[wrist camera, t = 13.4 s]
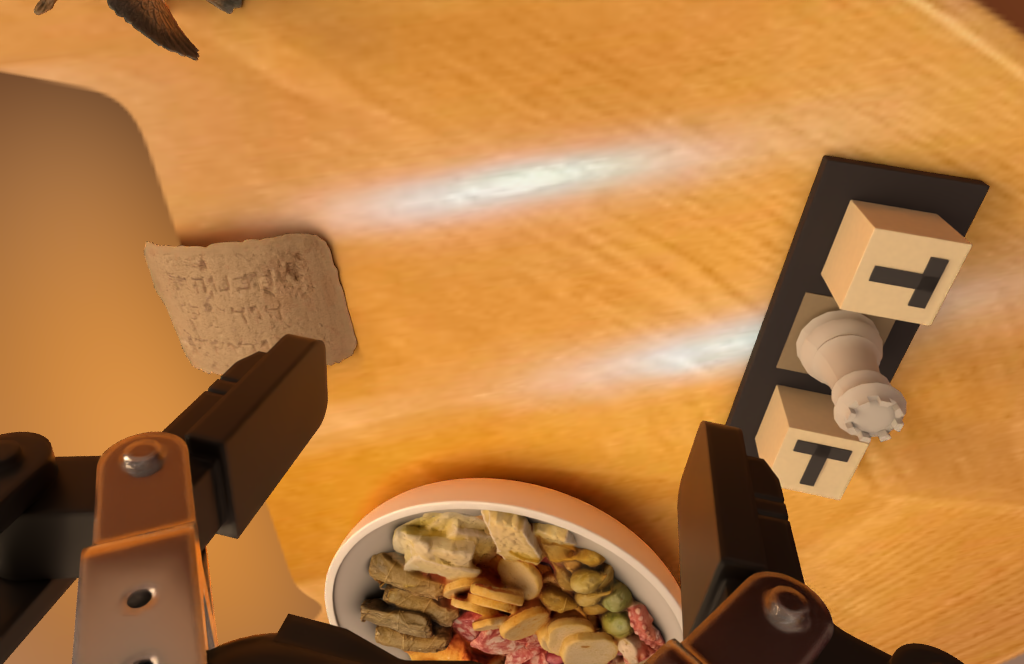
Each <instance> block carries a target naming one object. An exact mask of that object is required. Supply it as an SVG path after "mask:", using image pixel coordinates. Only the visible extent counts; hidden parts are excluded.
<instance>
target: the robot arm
mask: <svg viewBox="0 0 1024 664" xmlns="http://www.w3.org/2000/svg"><path fill="white" fill-rule="evenodd" d="M327 402H328V392H327V366H326V348H325V344H324V342H323V341H322V340H317V339H312V338H307V337H303V336H298V335H293V334H286V335H284V336H283V337H282V338H281V339H280V340H279V341H278V342H277V343H276V344H275V345H274V346H273V347H272V348H271V349H270V350H269V351H268V352H267V353H266V352H261V351H258V352H256V353H254V354H252V355H249V356H247V357H245V358H243V359H241V360H239V361H237V362H236V363H234V364H233V365H232V366H231V367H230V368H229V369H228V370H227V371H226V372H225V373H224V374H223V375H222V376H221V379H220V380H219V379H217V380H216V381H215V382H214V383H213V384H212V385H211V386H210V387H209V389H208V391H205V392H204V393H203V394H202V395H201V396H199V397H198V398H197V399H196V400H195V401H194V402H193V403H192V404H191V405H190V406H189V407H188V408H187V409H186V410H185V411H184V412H183V413H181V414H180V415H179V416H178V417H177V418H176V419H175V420H174V421H173V422H172V423H171V424H170V425H169V426H168V427H167V428H166V429H164V431H162V432H147V433H141V434H137V435H133V436H130V437H127V438H125V439H123V440H121V441H119V442H117V443H115V444H114V445H112V446H111V447H110V448H108V449H107V450H106V451H105V452H104V453H103V455H102V456H76V457H55V456H54V452H53V450H52V447H51V443H50V442H49V440H48V439H47V438H45V437H44V436H42V435H40V434H36V433H30V432H14V433H7V434H1V435H0V664H3V663H4V662H5V660H7V658H8V657H9V656H10V655H11V654H12V653H13V651H14V650H15V649H16V648H17V647H18V645H19V644H20V643H21V642H22V641H23V640H24V639H25V637H26V636H27V635H28V634H29V633H30V632H31V630H32V629H33V628H34V627H35V626H36V625H37V624H38V623H39V621H40V620H41V619H42V618H43V616H44V615H45V614H46V613H47V612H48V611H49V610H50V609H51V607H52V606H53V605H54V604H55V603H56V602H57V600H58V599H59V598H60V597H61V596H62V595H63V594H64V592H65V591H66V590H67V589H68V588H69V587H70V585H71V584H72V583H73V582H74V581H75V580H76V578H79V581H78V595H77V607H76V620H75V633H74V645H73V658H72V664H483V663H479V662H475V661H448V660H403V659H400V658H397V657H396V656H394V655H392V654H390V653H389V652H387V651H385V650H383V649H381V648H380V647H378V646H376V645H374V644H373V643H371V642H369V641H367V640H366V639H364V638H362V637H360V636H359V635H357V634H355V633H353V632H352V631H350V630H348V629H346V628H342V627H338V626H334V625H330V624H327V623H323V622H319V621H315V620H311V619H307V618H303V617H299V616H295V615H291V614H288V615H287V617H286V619H285V621H284V623H283V624H282V626H281V628H280V630H279V631H278V633H268V634H260V635H253V636H248V637H244V638H239V639H236V640H233V641H230V642H227V643H224V644H222V645H219V646H218V639H217V632H216V624H215V615H214V606H213V598H212V589H211V580H210V571H209V563H208V554H207V549H206V545H207V544H208V543H209V541H210V540H211V539H212V538H213V536H214V535H215V534H220V535H224V536H228V537H232V538H236V539H238V538H239V536H240V535H241V534H242V532H243V531H244V529H245V528H246V527H247V525H248V524H249V523H250V521H251V520H252V518H253V517H254V516H255V514H256V513H257V512H258V510H259V509H260V508H261V506H262V505H263V503H264V502H265V501H266V499H267V498H268V497H269V495H270V494H271V493H272V491H273V490H274V488H275V487H276V486H277V484H278V483H279V482H280V480H281V479H282V477H283V476H284V475H285V473H286V472H287V471H288V469H289V468H290V467H291V465H292V464H293V462H294V461H295V460H296V458H297V457H298V456H299V454H300V453H301V451H302V450H303V449H304V447H305V446H306V445H307V443H308V442H309V440H310V439H311V438H312V436H313V435H314V434H315V432H316V431H317V429H318V428H319V427H320V425H321V423H322V421H323V419H324V416H325V413H326V408H327ZM677 509H678V533H679V556H680V579H681V603H682V626H683V641H682V642H681V643H680V642H679V641H677V640H676V639H675V638H673V639H671V640H669V641H667V642H666V643H665V644H664V645H663V646H661V647H660V648H659V649H658V650H657V651H656V652H655V653H654V654H653V655H652V656H651V657H650V658H649V659H648V660H647V661H646V662H645V663H643V664H964V663H962V662H961V661H960V660H958V659H957V658H955V657H953V656H952V655H950V654H948V653H946V652H944V651H942V650H940V649H938V648H935V647H932V646H929V645H924V644H916V643H913V644H906V645H903V646H901V647H900V648H898V649H897V650H896V651H895V653H894V654H893V656H891V655H889V654H887V653H885V652H883V651H881V650H879V649H877V648H875V647H873V646H871V645H869V644H867V643H865V642H863V641H861V640H859V639H857V638H855V637H853V636H852V635H850V634H848V633H846V632H844V631H843V630H842V629H840V628H839V627H837V626H836V625H835V624H833V621H832V617H831V615H830V612H829V610H828V609H827V607H826V605H825V604H824V602H823V601H822V600H821V599H820V597H819V596H818V595H817V594H816V593H815V592H814V591H812V590H811V589H810V588H809V587H808V586H806V585H805V583H804V579H803V575H802V571H801V567H800V563H799V559H798V554H797V550H796V546H795V542H794V538H793V534H792V530H791V526H790V522H789V521H788V513H787V509H786V505H785V504H784V497H783V493H782V489H781V485H780V481H779V478H778V477H777V476H776V474H775V473H774V472H773V470H772V469H771V468H770V466H769V465H768V464H767V462H766V461H765V460H764V459H762V458H757V457H752V456H748V455H747V454H746V448H745V443H744V438H743V433H742V430H741V429H740V428H736V427H732V426H727V425H722V424H717V423H712V422H708V421H702V422H701V424H700V426H699V428H698V431H697V434H696V437H695V440H694V443H693V446H692V449H691V452H690V455H689V458H688V461H687V464H686V467H685V470H684V472H683V475H682V479H681V483H680V488H679V494H678V505H677Z"/></svg>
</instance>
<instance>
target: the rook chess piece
mask: <svg viewBox="0 0 1024 664" xmlns="http://www.w3.org/2000/svg"><path fill="white" fill-rule="evenodd" d="M796 347H797V356H798V358H799V359H800V361H801V363H802V365H803V366H804V368H805V369H806V371H807V373H808V374H809V375H811V376H812V377H814V378H815V379H817V380H818V381H820V382H821V383H825V384H826V385H828V386H829V387H830V388H831V390H832V392H831V393H832V401H833V403H834V405H835V407H834V419H835V421H836V423H837V424H838V426H839V427H840V428H841V429H843V430H844V431H846V432H847V433H849V434H851V436H852V435H856V436H858V438H859V441H863V442H867V443H870V441H871V437H877V436H878V437H879V439H880V441H881V442H883V441H886V440H888V439H891V436H890V434H889V432H890V431H891V430H892V429H894V430H896V431H898V432H900V430H901V429H902V427H903V425H904V423H903V421H902V419H903V417H904V415H905V414H906V400H905V399H904V397H903V395H902V393H901V392H900V391H898V390H897V389H895V388H894V387H892V386H891V384H890V383H889V381H888V379H887V378H886V377H885V376H883V375H882V374H880V371H879V365H880V361H881V359H882V357H883V341H882V339H881V337H880V335H879V332H878V330H877V328H876V326H875V325H874V323H873V321H872V320H870V319H869V318H867V317H866V316H864V315H863V314H861V313H857V312H852V311H847V310H840V311H832V312H827V313H825V314H822V315H820V316H818V317H816V318H814V319H812V320H811V321H810V322H809V323H808V324H807V325H806V326H805V327H804V328H803V329H802V330H801V332H800V335H799V337H798V339H797V342H796Z"/></svg>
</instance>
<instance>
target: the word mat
mask: <svg viewBox="0 0 1024 664" xmlns="http://www.w3.org/2000/svg"><path fill="white" fill-rule="evenodd" d="M989 187H990V186H989V185H987V184H986V183H984V182H982V181H980V180H973V179H967V178H961V177H955V176H949V175H943V174H936V173H930V172H924V171H918V170H912V169H906V168H899V167H893V166H887V165H881V164H875V163H869V162H863V161H856V160H850V159H844V158H838V157H832V156H824V157H823V159H822V162H821V164H820V167H819V170H818V173H817V175H816V178H815V181H814V184H813V186H812V189H811V192H810V195H809V197H808V200H807V203H806V206H805V208H804V211H803V214H802V217H801V219H800V222H799V225H798V228H797V230H796V233H795V236H794V239H793V241H792V244H791V247H790V249H789V252H788V255H787V258H786V260H785V263H784V266H783V269H782V271H781V274H780V277H779V280H778V282H777V285H776V288H775V291H774V293H773V296H772V299H771V302H770V304H769V307H768V310H767V313H766V315H765V318H764V321H763V323H762V326H761V329H760V332H759V334H758V337H757V340H756V343H755V345H754V348H753V351H752V354H751V356H750V359H749V362H748V365H747V367H746V370H745V373H744V376H743V378H742V381H741V384H740V387H739V389H738V392H737V395H736V398H735V400H734V403H733V406H732V408H731V411H730V414H729V417H728V419H727V422H726V425H727V426H732V427H736V428H740V429H741V430H742V433H743V438H744V443H745V448H746V454H747V455H748V456H752V457H757V458H759V455H758V450H757V445H756V441H755V437H756V435H757V432H758V430H759V427H760V425H761V422H762V420H763V417H764V415H765V412H766V410H767V407H768V405H769V402H770V400H771V397H772V395H773V392H774V390H775V387H776V385H781V386H786V387H791V388H796V389H801V390H806V391H811V392H816V393H821V394H826V395H831V396H832V393H831V392H832V390H831V388H830V387H829V386H828V385H826V384H825V383H821V382H820V381H818V380H817V379H815V378H814V377H812V376H811V375H809V374H808V373H807V371H806V369H805V368H804V366H803V365H802V363H801V361H800V359H799V358H798V356H797V347H796V342H797V339H798V337H799V335H800V332H801V330H802V329H803V328H804V327H805V326H806V325H807V324H808V323H809V322H810V321H811V320H812V319H814V318H816V317H818V316H820V315H822V314H825V313H827V312H832V311H840V310H842V309H840V308H839V306H838V304H837V303H836V301H835V299H834V297H833V295H832V293H831V292H830V290H829V288H828V286H827V284H826V282H825V281H824V279H823V277H822V275H821V272H822V270H823V267H824V265H825V262H826V260H827V257H828V255H829V252H830V250H831V247H832V245H833V242H834V240H835V237H836V235H837V232H838V230H839V227H840V225H841V222H842V220H843V217H844V215H845V212H846V210H847V207H848V205H849V202H850V200H857V201H863V202H869V203H875V204H881V205H887V206H893V207H899V208H904V209H910V210H916V211H922V212H928V213H934V214H938V215H939V216H940V217H941V218H942V219H943V220H945V221H946V222H947V223H948V224H949V225H950V226H951V227H953V228H954V229H955V230H956V231H957V232H958V233H959V234H961V235H962V236H963V237H965V235H966V233H967V231H968V229H969V227H970V225H971V223H972V221H973V219H974V217H975V215H976V213H977V211H978V209H979V207H980V205H981V203H982V201H983V199H984V197H985V195H986V193H987V192H988V190H989ZM852 312H853V311H852ZM857 313H858V312H857ZM861 314H863V313H861ZM863 315H864V316H866V317H867V318H869V319H870V320H872V321H873V323H874V325H875V326H876V328H877V330H878V332H879V335H880V337H881V339H882V341H883V357H882V359H881V361H880V365H879V371H880V374H882V375H883V376H885V377H886V378H887V379H888V381H889V383H890V382H891V380H892V378H893V376H894V374H895V372H896V370H897V368H898V366H899V364H900V362H901V360H902V358H903V356H904V355H905V353H906V351H907V349H908V347H909V345H910V343H911V341H912V339H913V337H914V335H915V333H916V331H917V329H918V327H919V325H920V324H917V323H912V322H906V321H901V320H896V319H890V318H885V317H879V316H874V315H869V314H863Z"/></svg>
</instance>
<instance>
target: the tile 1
mask: <svg viewBox="0 0 1024 664" xmlns="http://www.w3.org/2000/svg"><path fill="white" fill-rule="evenodd" d="M834 407H835V405H834V403H833V401H832V396H831V395H826V394H821V393H816V392H811V391H806V390H801V389H796V388H791V387H786V386H781V385H776V387H775V390H774V392H773V395H772V397H771V400H770V402H769V405H768V407H767V410H766V412H765V415H764V417H763V420H762V422H761V425H760V427H759V430H758V432H757V435H756V437H755V441H756V445H757V450H758V455H759V458H762V459H764V460H765V461H766V462H767V464H768V465H769V466H770V468H771V469H772V470H773V472H774V473H775V474H776V476H777V477H778V478H779V481H780V485H781V488H785V489H790V490H794V491H799V492H803V493H808V494H813V495H817V496H822V497H826V498H831V499H836V500H840V499H841V497H842V495H843V494H844V492H845V490H846V488H847V486H848V484H849V482H850V480H851V478H852V476H853V474H854V472H855V470H856V469H857V467H858V465H859V463H860V461H861V459H862V457H863V455H864V453H865V451H866V449H867V447H868V445H869V443H867V442H863V441H859V438H858V436H856V435H852V436H851V434H849V433H847V432H846V431H844V430H843V429H841V428H840V427H839V426H838V424H837V423H836V421H835V419H834Z"/></svg>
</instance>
